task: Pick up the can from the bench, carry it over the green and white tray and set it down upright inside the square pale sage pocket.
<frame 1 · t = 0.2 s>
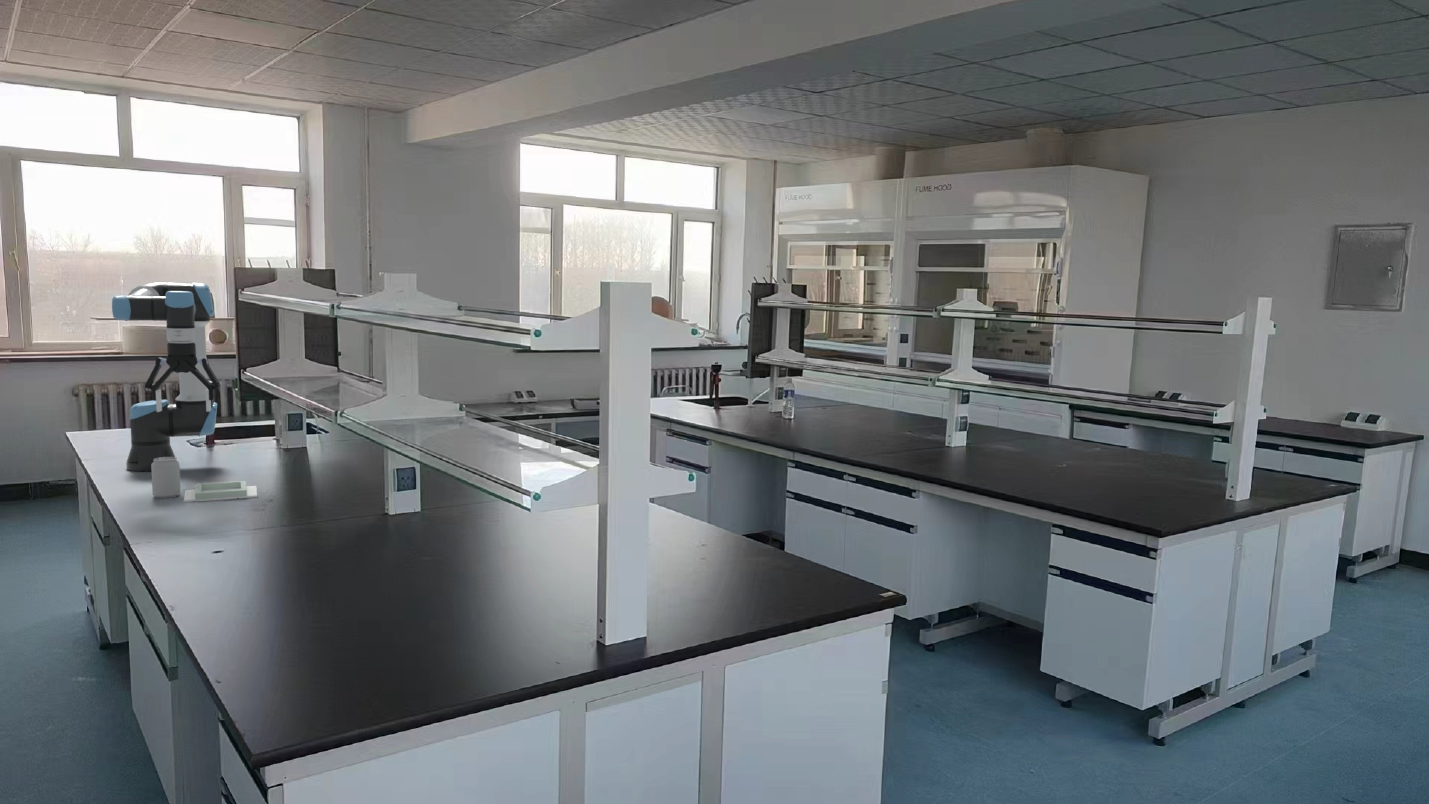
hand: (184, 411, 287), 27 cm above the table, tool pointing down, fingers open, 13 cm apart
can: (166, 496, 289), on the table
green and white tray: (221, 494, 293), on the table
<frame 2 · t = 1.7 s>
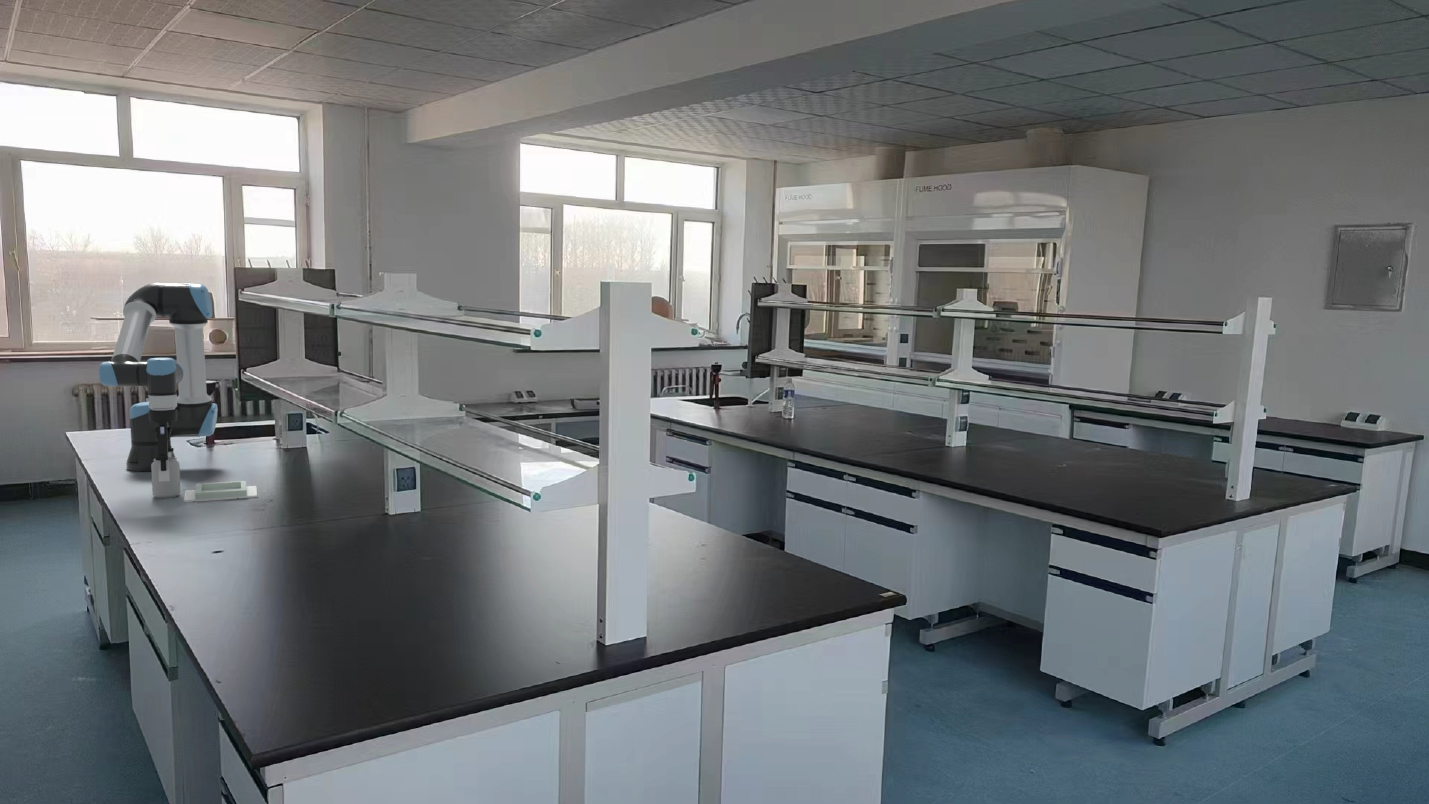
hand: (165, 476, 288), 6 cm above the table, tool pointing down, fingers open, 13 cm apart
nothing on the table moved.
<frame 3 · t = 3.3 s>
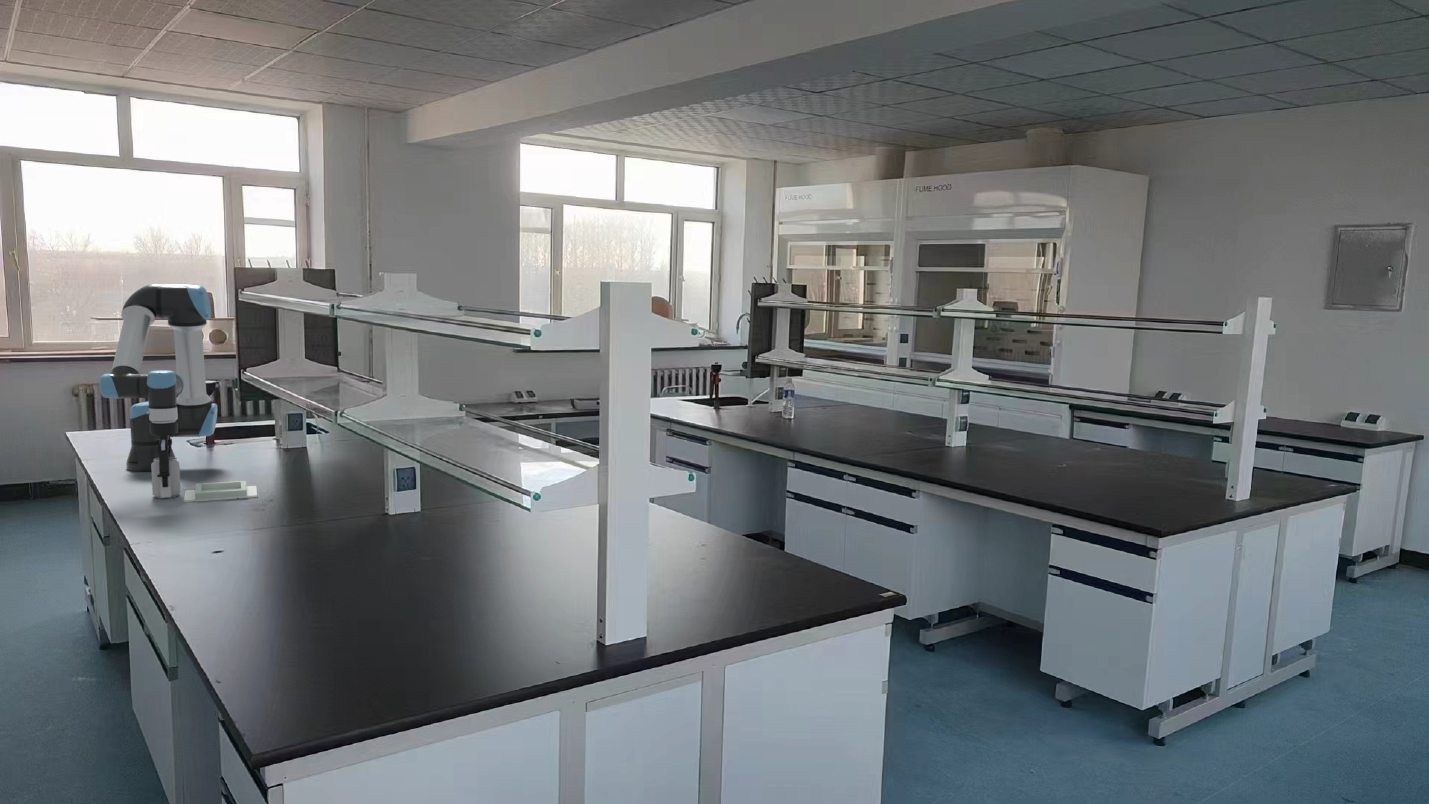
hand: (166, 494, 289), 1 cm above the table, tool pointing down, fingers closed on can, 7 cm apart
can: (166, 496, 289), on the table, touching gripper
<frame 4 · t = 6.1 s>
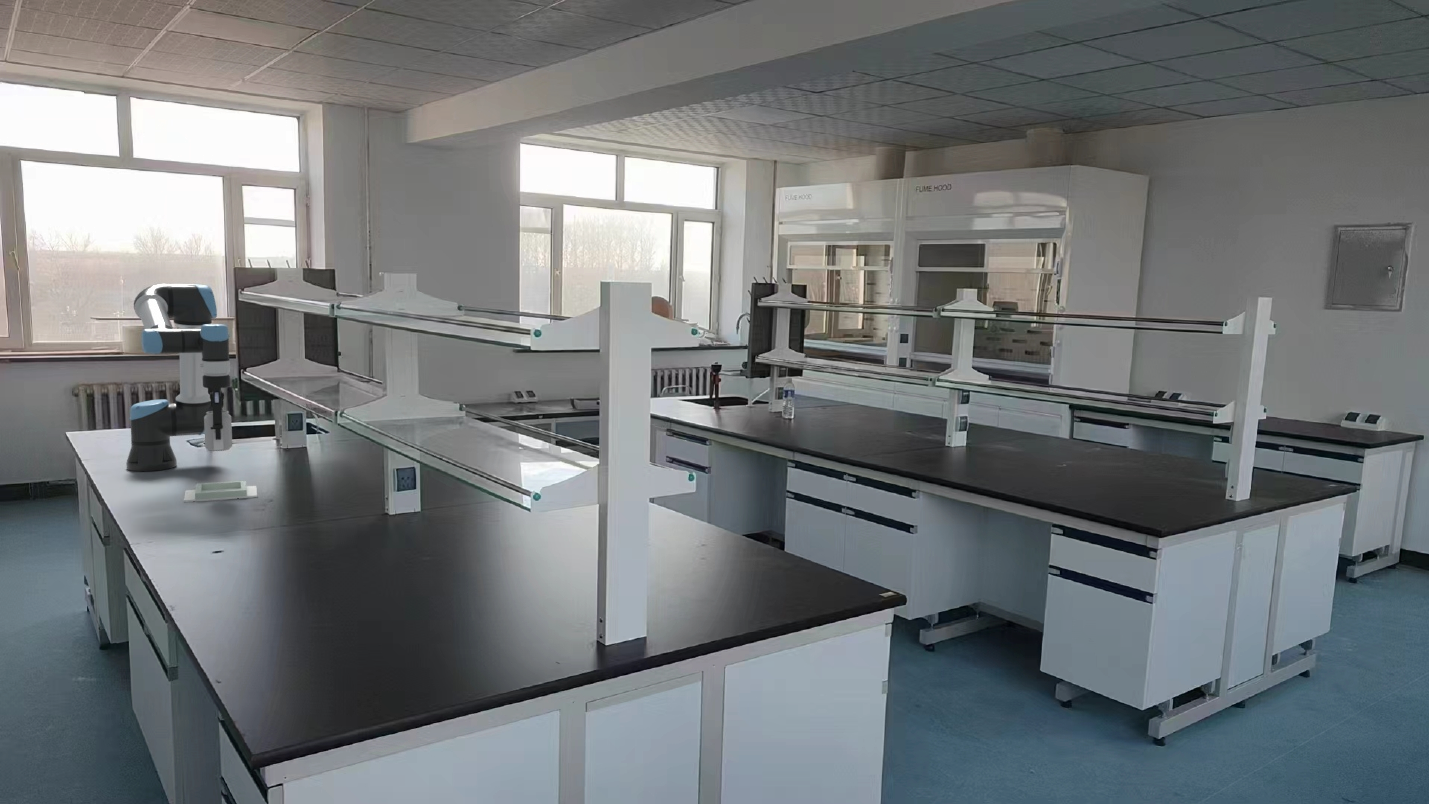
hand: (218, 447, 291), 15 cm above the table, tool pointing down, fingers closed on can, 7 cm apart
can: (218, 449, 291), point 14 cm above the table, touching gripper
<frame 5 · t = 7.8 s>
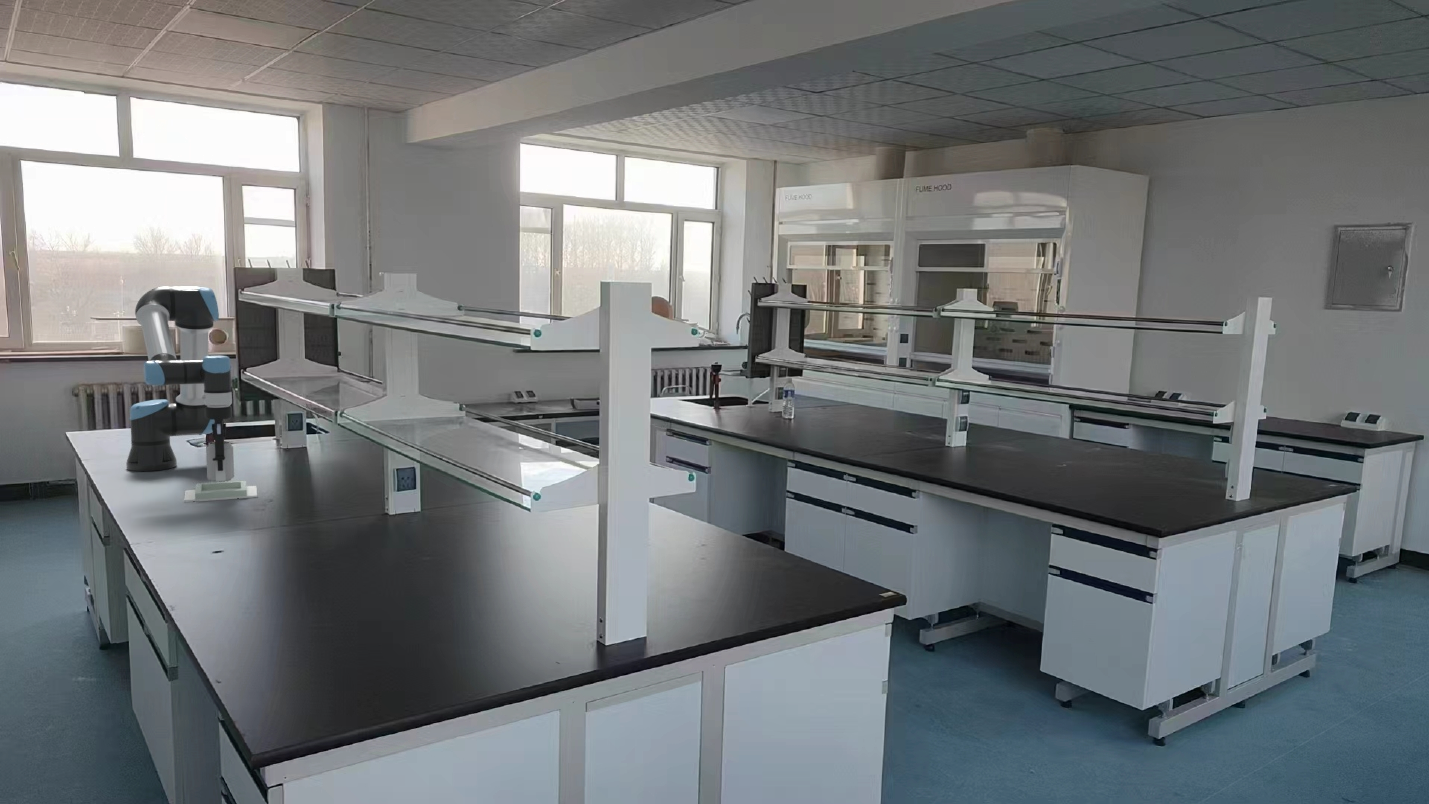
hand: (220, 477, 292), 5 cm above the table, tool pointing down, fingers closed on can, 7 cm apart
can: (220, 480, 292), point 5 cm above the table, touching gripper
when the fingers open (3 cm above the table, at t = 9.1 s): can drops 2 cm, resting on green and white tray.
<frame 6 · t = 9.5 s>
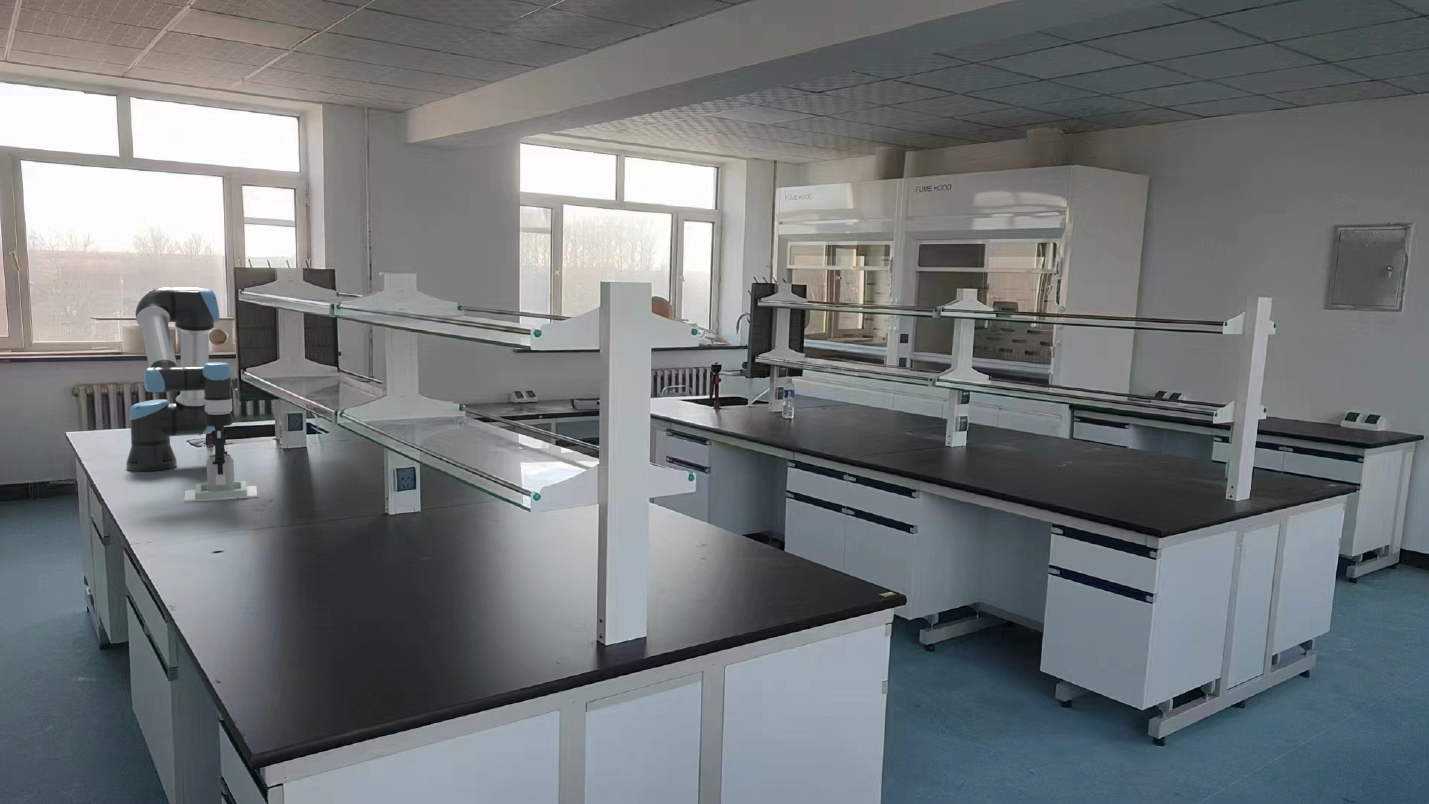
hand: (220, 480, 292), 5 cm above the table, tool pointing down, fingers open, 13 cm apart
can: (221, 493, 293), resting on green and white tray
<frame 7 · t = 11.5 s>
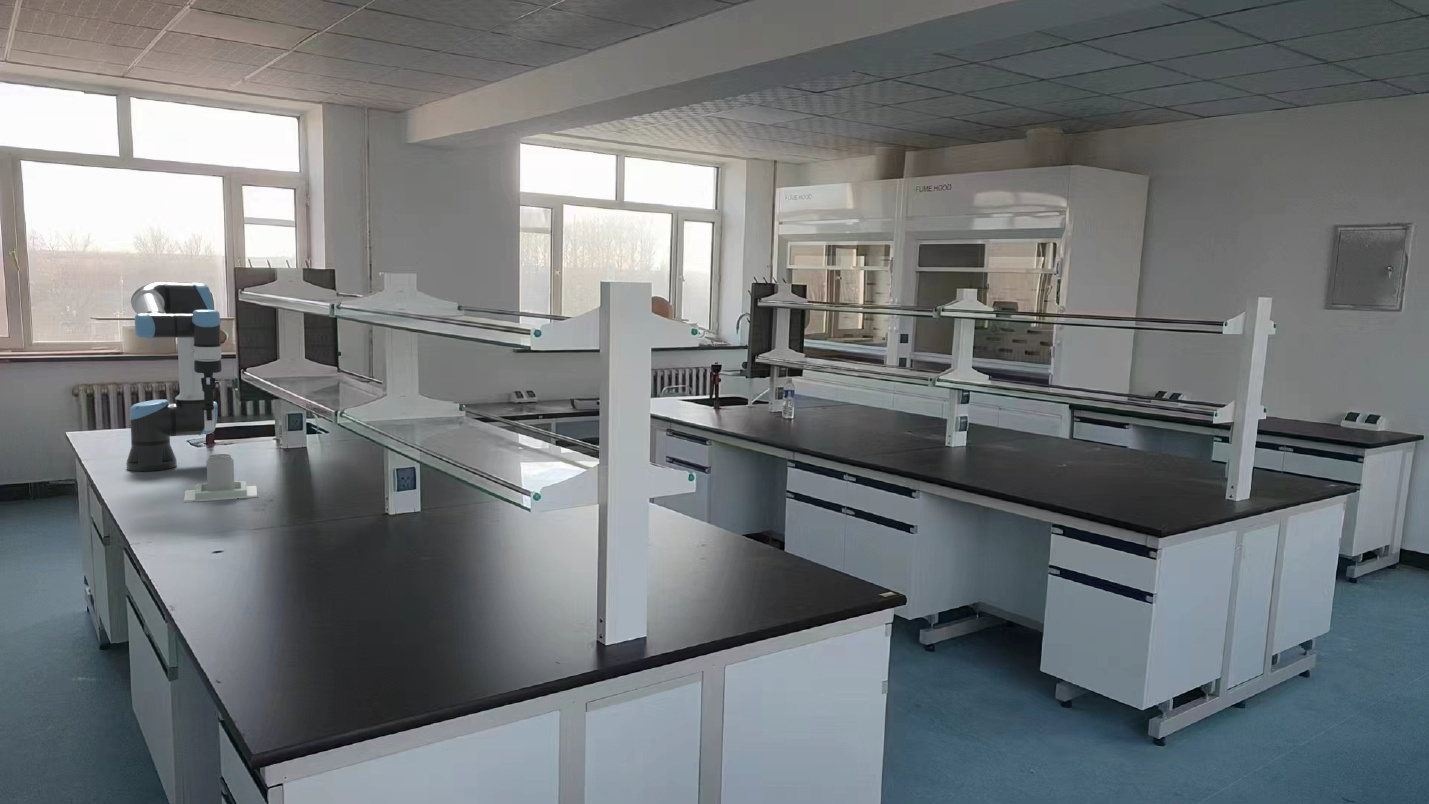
hand: (209, 426, 295), 21 cm above the table, tool pointing down, fingers open, 13 cm apart
nothing on the table moved.
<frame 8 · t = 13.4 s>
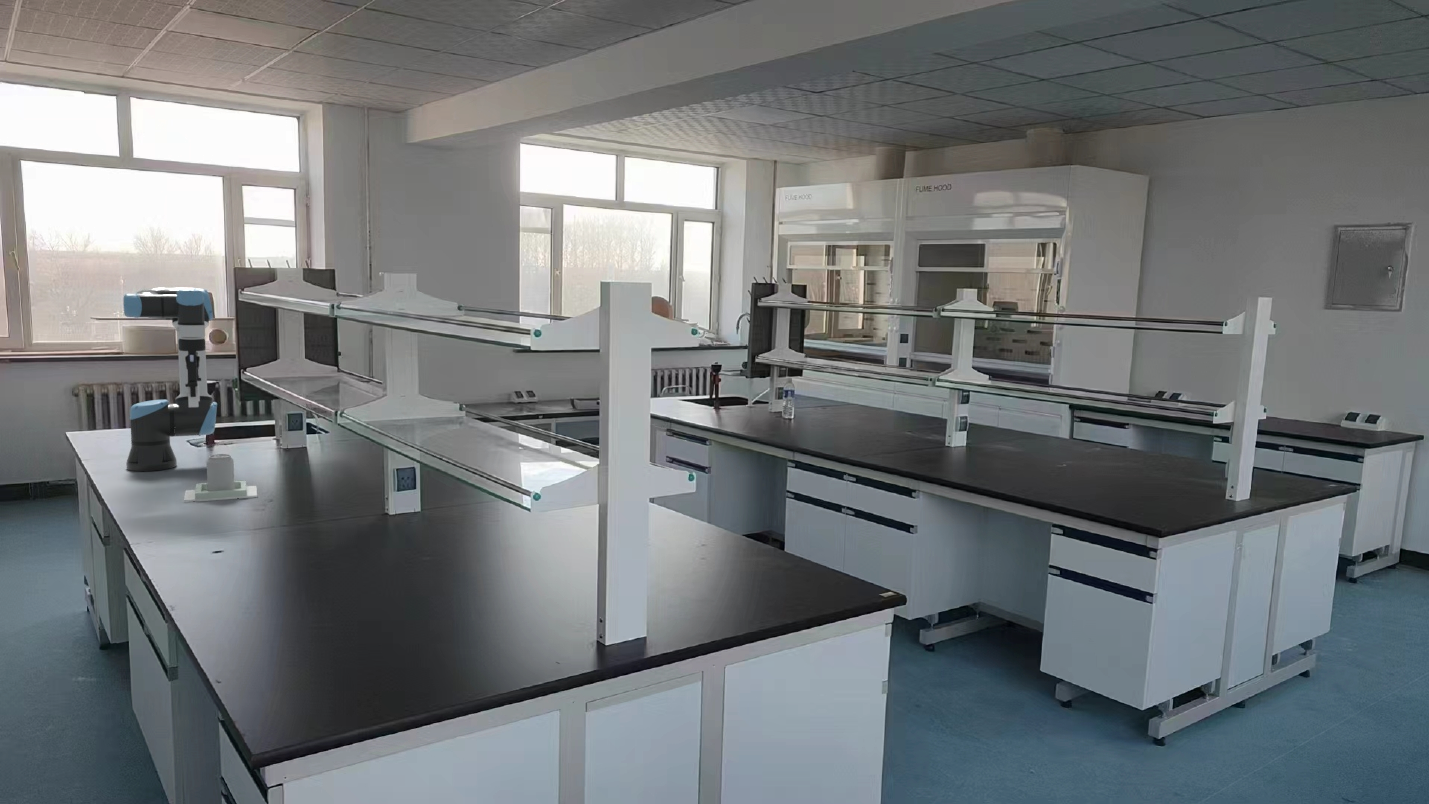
hand: (194, 404, 300), 27 cm above the table, tool pointing down, fingers open, 13 cm apart
nothing on the table moved.
at the end: can 0.1 cm off-centre on the green and white tray, point 0.4 cm above the green and white tray's base; can tilted 0°; the gripper is holding nothing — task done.
